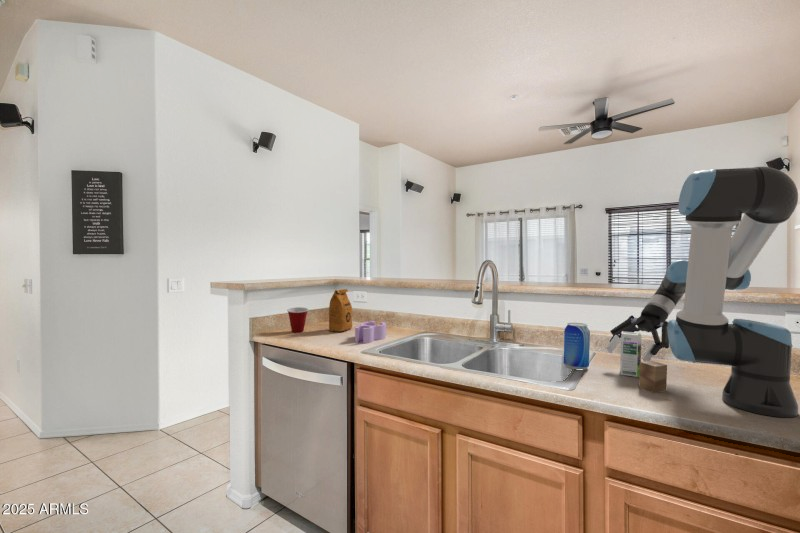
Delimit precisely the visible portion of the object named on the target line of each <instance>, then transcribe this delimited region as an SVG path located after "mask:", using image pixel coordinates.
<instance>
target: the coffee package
mask: <svg viewBox="0 0 800 533" xmlns="http://www.w3.org/2000/svg"><path fill="white" fill-rule="evenodd" d="M348 292H349V290H348V288H343V289H335V290H334V291H333V294H332V296H331V297H330V300H329V307H328V331H329V332H338V333H339V332H345V331H350V330H351V329H353V306H352V303H351V301H350V299H349V298H348V294H347V293H348Z"/></svg>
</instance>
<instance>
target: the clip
mask: <svg viewBox="0 0 800 533" xmlns="http://www.w3.org/2000/svg"><path fill="white" fill-rule="evenodd" d="M386 338H387V321H380V324H379V325H376V320H372V321H364V322H360V324H359V325H356V326H355V327H354V343H358V344H359V342H360V341H362V343H363V344H371V343H373V342H374V341H381V340H383V341H384V340H385V339H386Z"/></svg>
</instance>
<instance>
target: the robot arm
mask: <svg viewBox="0 0 800 533" xmlns="http://www.w3.org/2000/svg"><path fill="white" fill-rule="evenodd" d="M798 202H799V192H798V188H797V185H796V183H795V182H794V180H793V179H792V178H791V177H790V176H789V175H788V174H787V173H785V172H784V171H782V170H780V169H777V168H773V167H769V166H754V167H740V168H739V167H738V168H737V167H736V168H719V169H718V168H717V169H715V168H711V169H705V170H698V171H694V172H692V173H690V174H689V175H688V176H687V177H686V179H685V180H684V182H683V185H682V186H681V190H680V194H679V198H678V212H679V214H680V215H683V216H685V218H684V220H685V222H686V223H687V224H688V225H689V226H690V228H691V229H690V240H689V249H688V250H689V251H688V260H685V259H679V260H675V261H673V262H672V263H670V265H669V266H668V268H667V269H666V271H665V274H664V277H663V279H662V281H661V283H660V284H659V287H658V288H657V290H655V292H654V294H653V295H652V296H651V298H650V299H649V301H648V302H647V304H646V305H645V306H644V307H643V309H642V310H641V311H640V316H639V317H635V316H634V315H630V316H629V317H628V318H627V319H626V320H624V321H623V322H621V323H619V324H618V325H616V326H615V327H614V328H612V329H611V330H610V333H611V335H612V337H611V338H610V340H609V343H608V345H607V346H606V347H605V349H606V351H608V353H609V354H612V353H613V352H614V350H615V349H616V347H617V346H618V345H619V344H620V343H621V332H622V331H623V332H634V333H639V332H646V333H651V336H652V339H653V342H651V343H650V345H649V346H648V348H647V349H646V351H645V352H644V354H643V355H642V356H641V360H643V362H645V361H652V358H653V357H654V356H656V355H657V354H658V353H659V351H660V350H661V349H665V350H666V349H670V350H671V353H672V354H673V356H674V357H675V358H676V359H677V360H679V361H683V362H690V363H694V364H696V363H698V364H700V363H701V364H708V365H709V364H710V365H720V366H728V367H729V366H731V369H730V370H731V372H730V376H729V377H728V380H727V381H726V384H725V385H724V387H723V389H722V394H721V397H722V398H721V399H722V401H723V402H724V403H726V404H727V405H729V406H733V407H735V408H737V409H740V410H743V411H746V412H750V413H754V414H758V415H764V416H769V417H770V416H771V417H776V418H777V417H778V418H794V417H797V416H798V415H799V404H798V401H797V399H796V396H795V394H794V391H793V388H792V385H791V363H792V348H793V343H792V341H793V340H792V332H791V331H790V330H789V329H787V328H786V327H783V326H780V325H776V324H772V323H766V322H761V321H757V320H751V319H744V318H734V319H733V320H732V322H731V323H729V322H730V321H729V318H728V317H727V316H725V314H723V310H724V301H725V294H726V293H725V292H726V290H728V291H734V290H746V289H747V288H749V286H750V284H751V281H752V276H751V274H752V273H751V271H750V269H749V268H750V266H752V264H753V262H755V260H756V258H757V257H758V256H759V253H761V251H762V249H763V248H764V247H765V245H766V244H767V242H768V241H769V239H770V238H771V236H772V235H773V234H774V232H775V230H776V229H777V228H778V226H779V224H782V223H784V222H787V221H788V220H789V219H790V217H791V216H792V215H793V213H794V212H795V211H796V210H795V209H796V207H797V205H798ZM743 214H744V215H743ZM736 225H738V226H736ZM735 226H736V228H735V231H734V232H733V228H734V227H735ZM683 296H684V301H683V308H682V309H681V310H679V311H676V318H675V319H670V320H668V321H667V319H669V316H670V315H671V313H672V312H673V310H674V309H675V307H676V306H677V304H678V303H679V302H680V300H681V299H682V298H683ZM658 329H661V339H660V336H659V332H658Z"/></svg>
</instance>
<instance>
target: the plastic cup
mask: <svg viewBox="0 0 800 533" xmlns="http://www.w3.org/2000/svg"><path fill="white" fill-rule="evenodd" d="M286 311H287V314H288V317H289V325H290V328H291V329H290V330H291V333H294V334H295V333H296V334H298V333H304V329H305V325H306V320H307V315H308V311H309V308H307V307H301V306H300V307H297V306H296V307H290V308H288V309H286Z"/></svg>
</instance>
